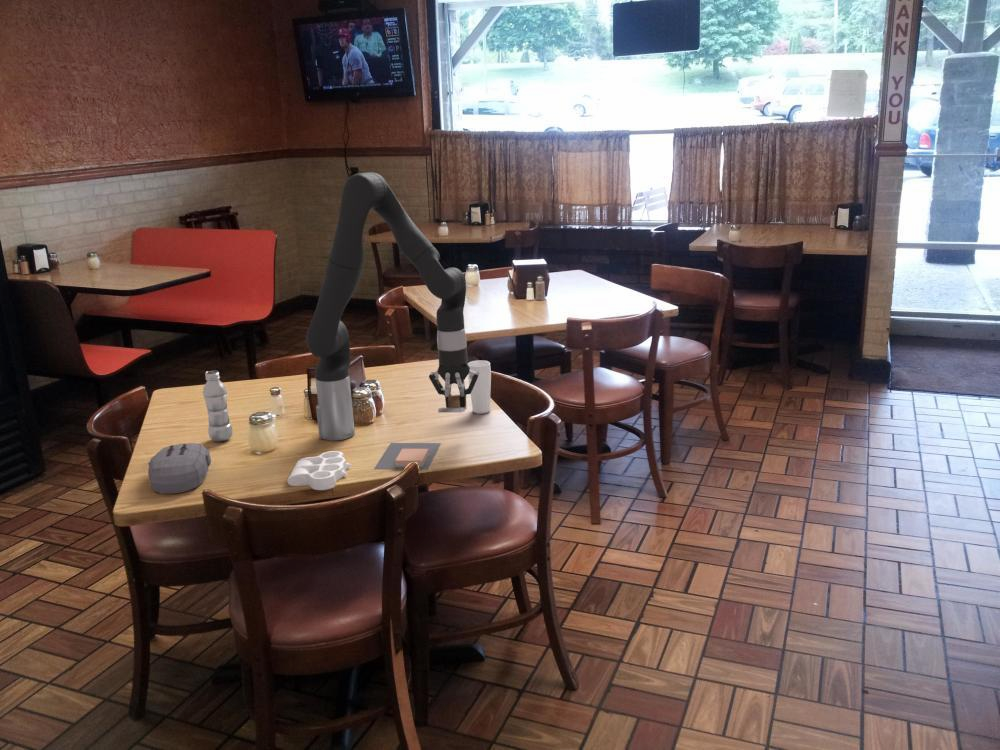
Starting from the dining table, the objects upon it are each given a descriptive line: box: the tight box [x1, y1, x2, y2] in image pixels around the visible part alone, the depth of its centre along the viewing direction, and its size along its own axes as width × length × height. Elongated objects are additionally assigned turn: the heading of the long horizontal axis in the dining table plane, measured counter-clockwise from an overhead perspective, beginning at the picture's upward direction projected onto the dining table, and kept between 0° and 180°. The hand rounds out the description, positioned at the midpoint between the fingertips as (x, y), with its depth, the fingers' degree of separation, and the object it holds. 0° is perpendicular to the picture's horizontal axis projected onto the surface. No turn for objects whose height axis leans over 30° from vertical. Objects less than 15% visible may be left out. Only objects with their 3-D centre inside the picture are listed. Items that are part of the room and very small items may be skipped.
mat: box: [373, 442, 442, 471], centre depth 232 cm, size 14×18×1 cm
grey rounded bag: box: [147, 442, 212, 495], centre depth 223 cm, size 15×8×20 cm
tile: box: [395, 449, 429, 468], centre depth 227 cm, size 7×2×8 cm
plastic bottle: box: [202, 370, 233, 442], centre depth 248 cm, size 6×7×20 cm
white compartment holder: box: [287, 450, 353, 491], centre depth 223 cm, size 3×18×15 cm
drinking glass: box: [467, 359, 492, 415], centre depth 262 cm, size 7×7×15 cm
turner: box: [437, 394, 467, 413], centre depth 234 cm, size 6×17×4 cm, turn 173°
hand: (456, 408), depth 234 cm, fingers closed on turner, 2 cm apart
